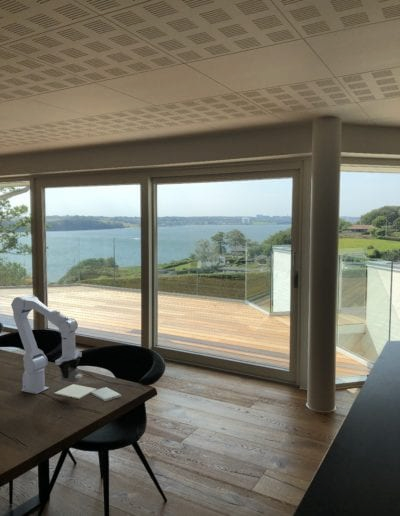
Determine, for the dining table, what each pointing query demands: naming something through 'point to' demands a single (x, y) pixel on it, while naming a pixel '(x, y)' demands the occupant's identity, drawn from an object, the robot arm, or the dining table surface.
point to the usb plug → (71, 375)
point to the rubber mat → (75, 391)
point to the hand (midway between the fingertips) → (69, 376)
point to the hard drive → (106, 394)
